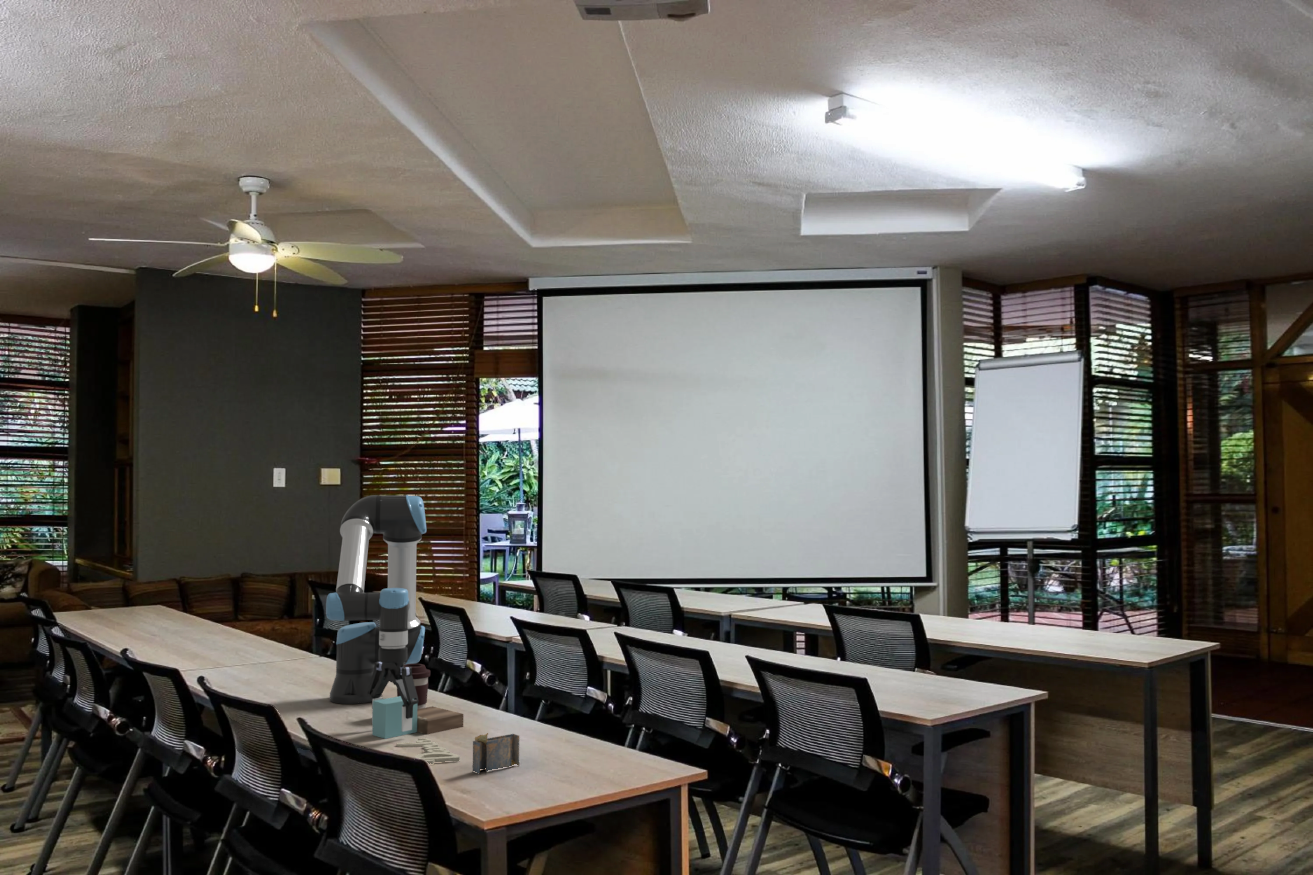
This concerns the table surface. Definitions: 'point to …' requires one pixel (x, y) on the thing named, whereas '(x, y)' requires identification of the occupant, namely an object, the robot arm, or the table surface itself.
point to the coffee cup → (419, 683)
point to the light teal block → (390, 718)
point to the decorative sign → (431, 751)
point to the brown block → (437, 720)
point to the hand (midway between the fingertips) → (391, 726)
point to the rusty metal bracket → (495, 752)
